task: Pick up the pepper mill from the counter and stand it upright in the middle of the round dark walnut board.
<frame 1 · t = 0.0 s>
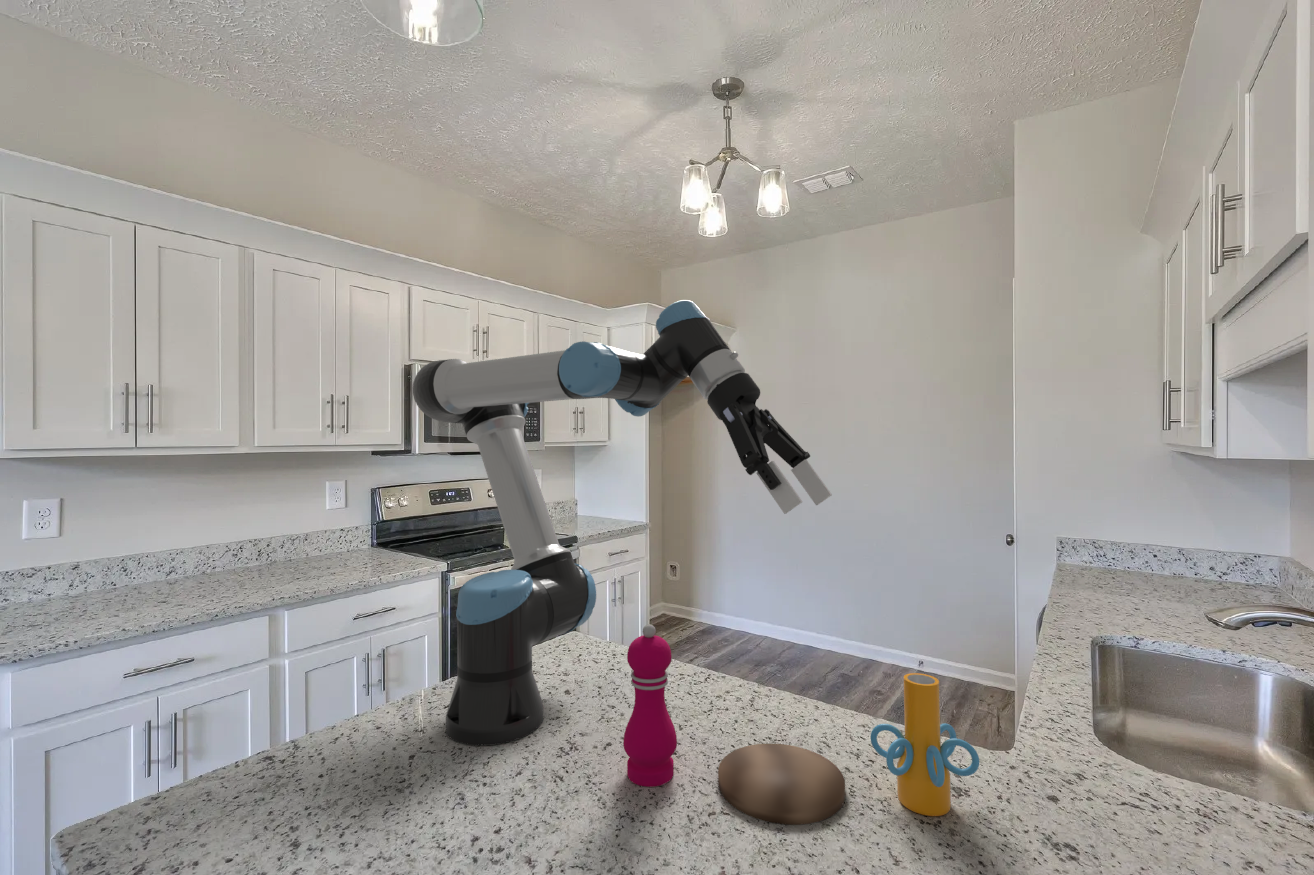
hand: (810, 504, 81), 36 cm above the counter, tool tilted 35°, fingers open, 13 cm apart
walnut board: (780, 785, 76), on the counter
pepper mill: (650, 776, 79), on the counter
cylinder: (924, 804, 72), on the counter
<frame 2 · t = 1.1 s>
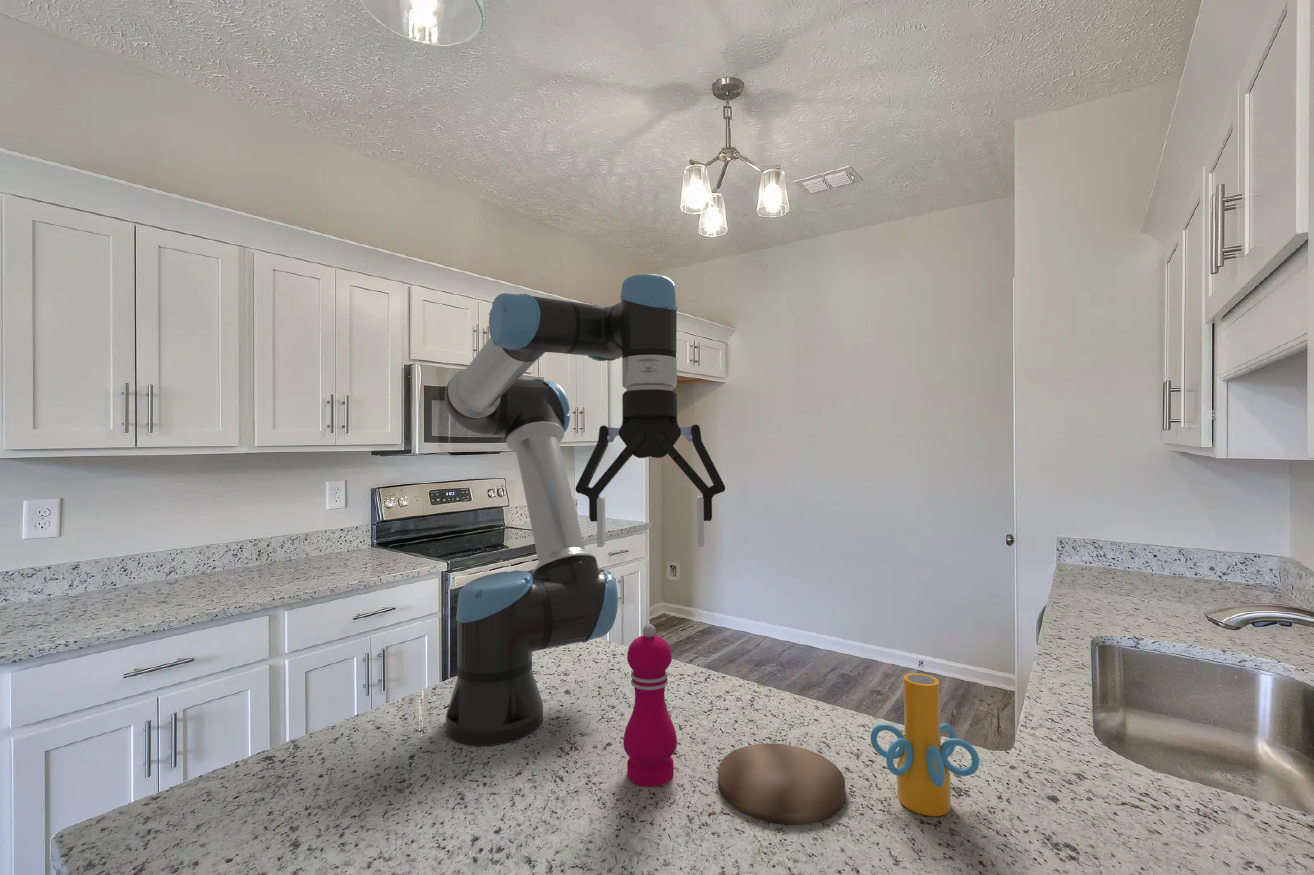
hand: (650, 545, 80), 31 cm above the counter, tool pointing down, fingers open, 13 cm apart
nothing on the counter moved.
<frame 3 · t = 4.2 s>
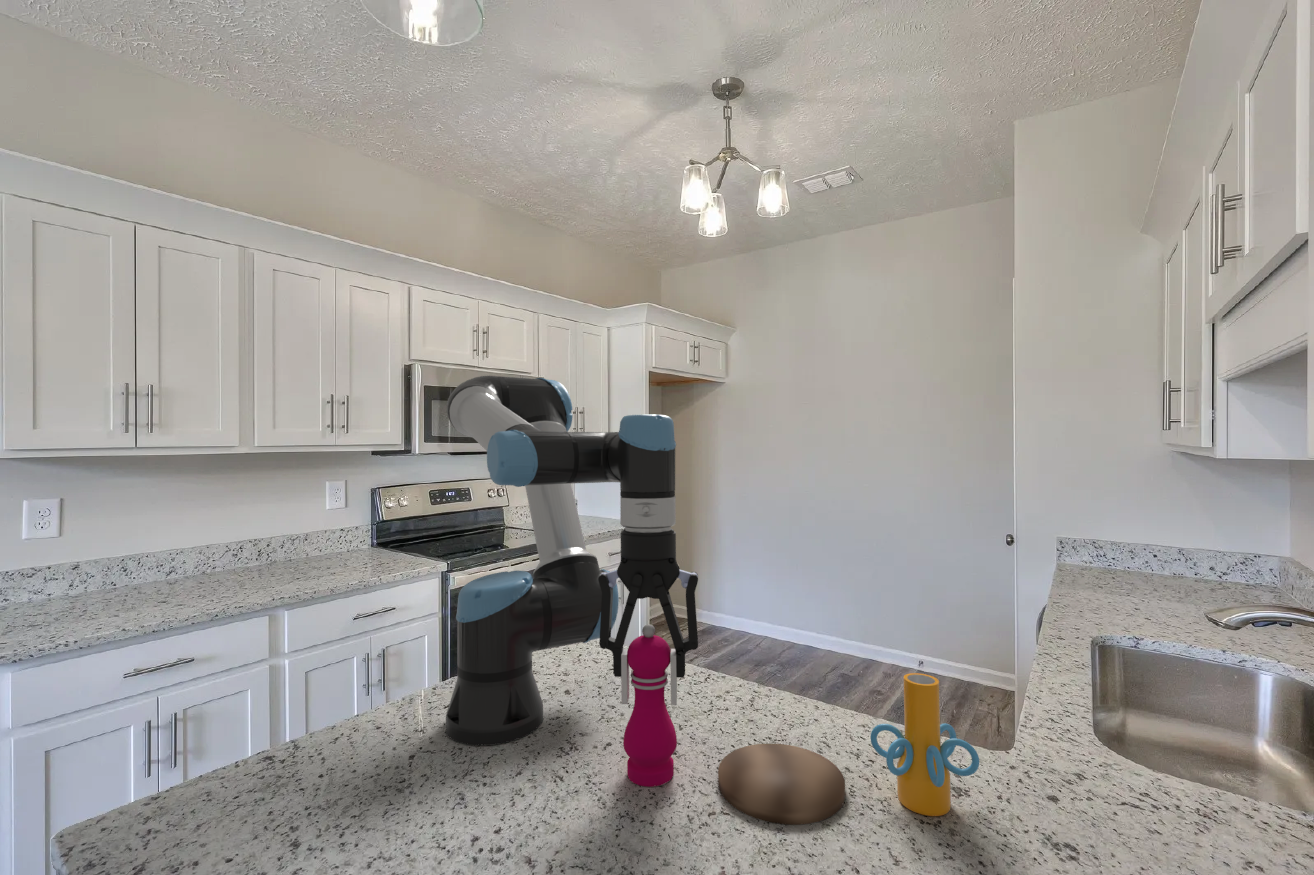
hand: (649, 700, 79), 10 cm above the counter, tool pointing down, fingers closed on pepper mill, 6 cm apart
pepper mill: (650, 776, 79), on the counter, touching gripper
everything else where it was.
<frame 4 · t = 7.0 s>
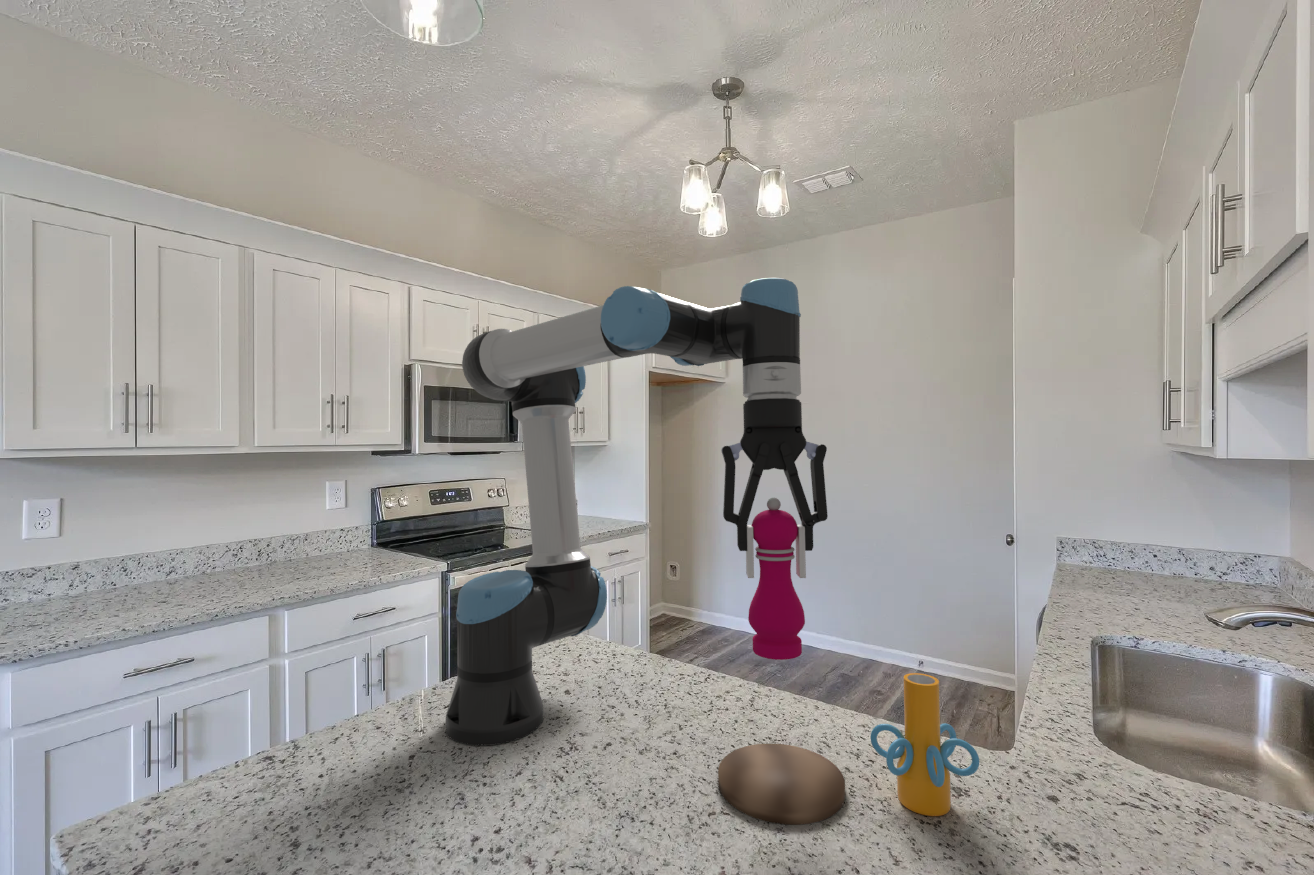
hand: (775, 575, 77), 27 cm above the counter, tool pointing down, fingers closed on pepper mill, 6 cm apart
pepper mill: (777, 653, 76), point 17 cm above the counter, touching gripper
everything else where it was.
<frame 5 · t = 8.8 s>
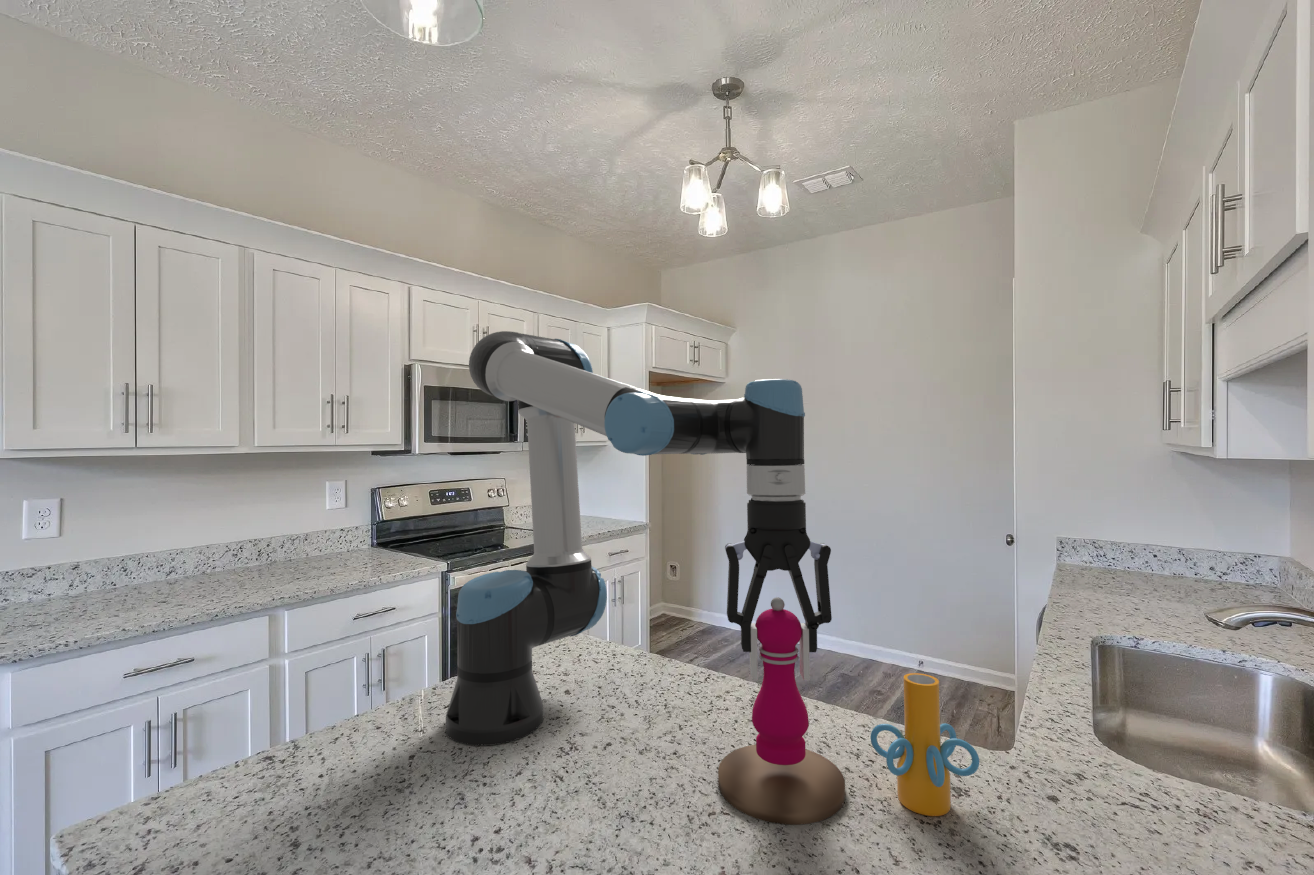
hand: (779, 676, 76), 14 cm above the counter, tool pointing down, fingers closed on pepper mill, 6 cm apart
pepper mill: (780, 754, 76), point 4 cm above the counter, touching gripper
everything else where it was.
when the fingers open (12 cm above the counter, at t = 10.0 s): pepper mill stays where it is, resting on walnut board.
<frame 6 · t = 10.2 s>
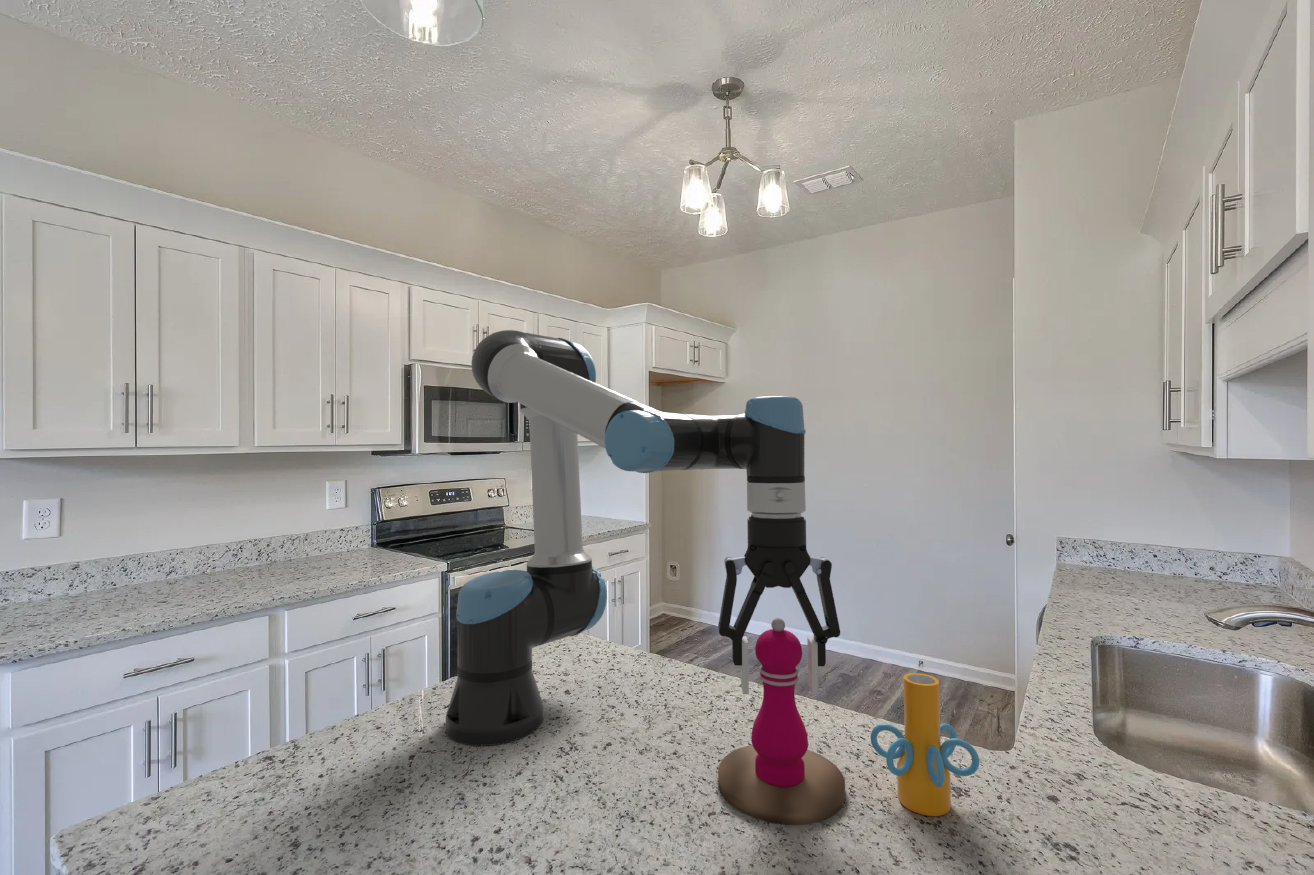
hand: (778, 690, 76), 12 cm above the counter, tool pointing down, fingers open, 8 cm apart
pepper mill: (779, 775, 76), point 1 cm above the counter, touching walnut board
everything else where it was.
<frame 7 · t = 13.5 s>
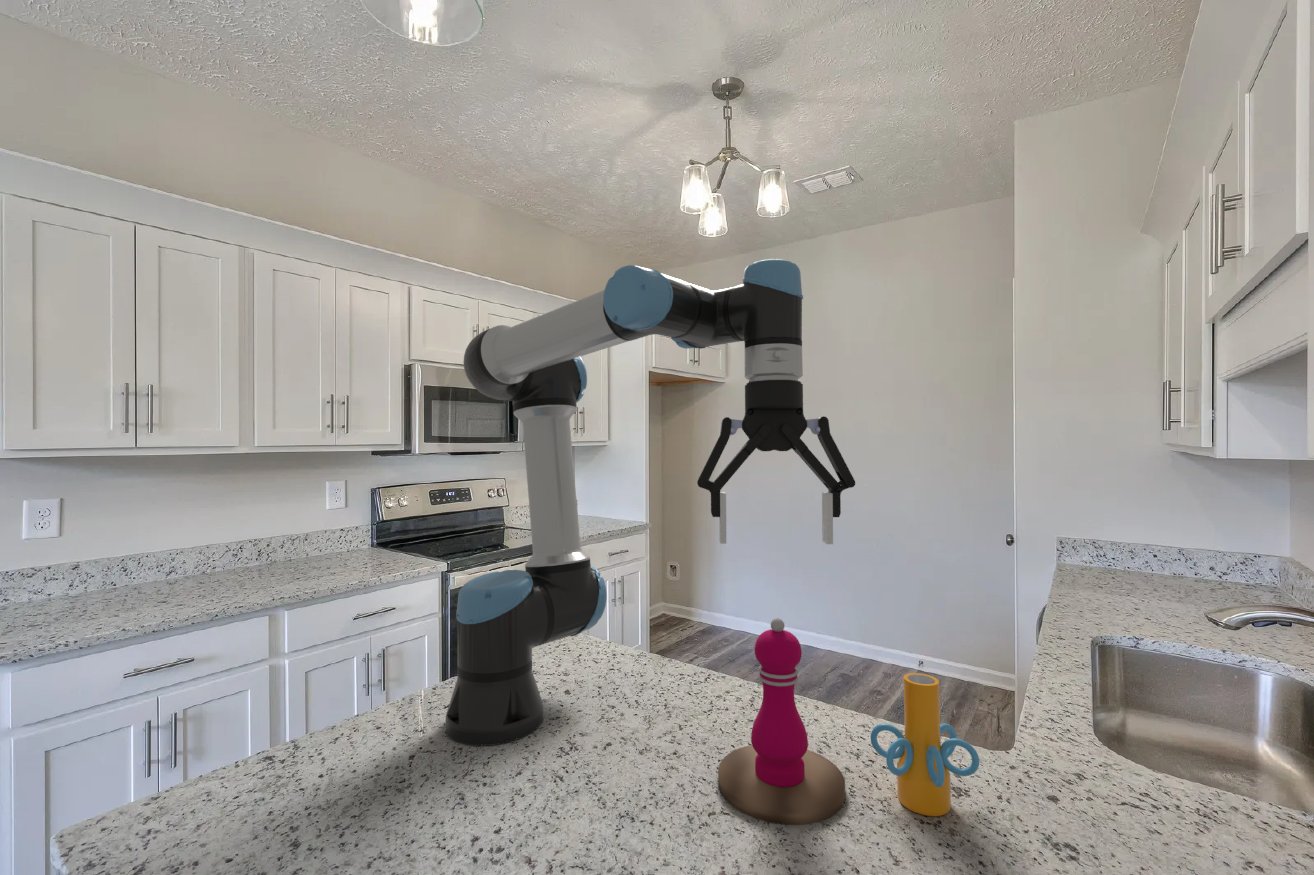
hand: (775, 542, 77), 31 cm above the counter, tool pointing down, fingers open, 13 cm apart
nothing on the counter moved.
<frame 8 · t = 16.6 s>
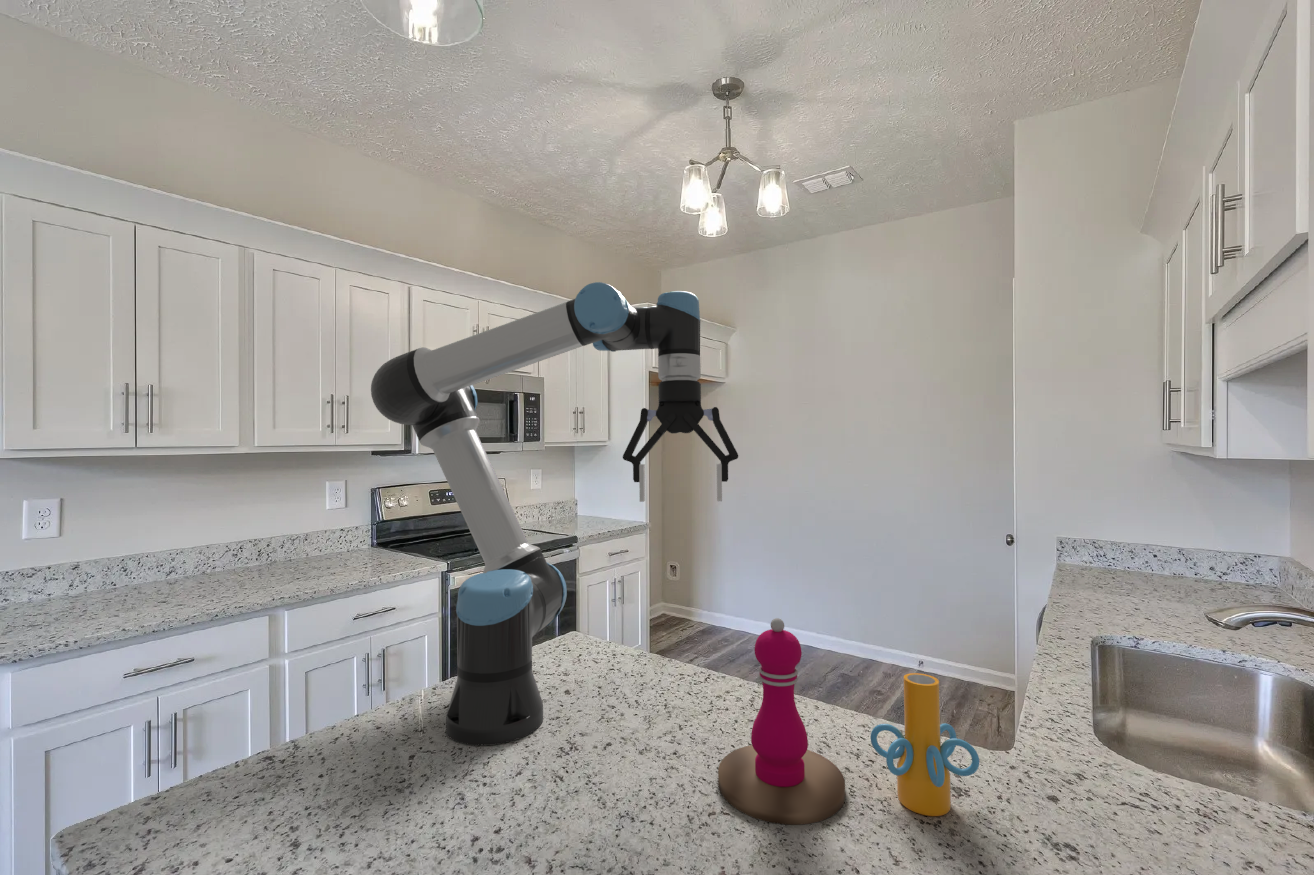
hand: (680, 501, 104), 35 cm above the counter, tool pointing down, fingers open, 13 cm apart
nothing on the counter moved.
at the end: pepper mill inside the target area on the walnut board (0.1 cm from its centre), point 1.3 cm above the walnut board's base; pepper mill tilted 0°; the gripper is holding nothing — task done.
